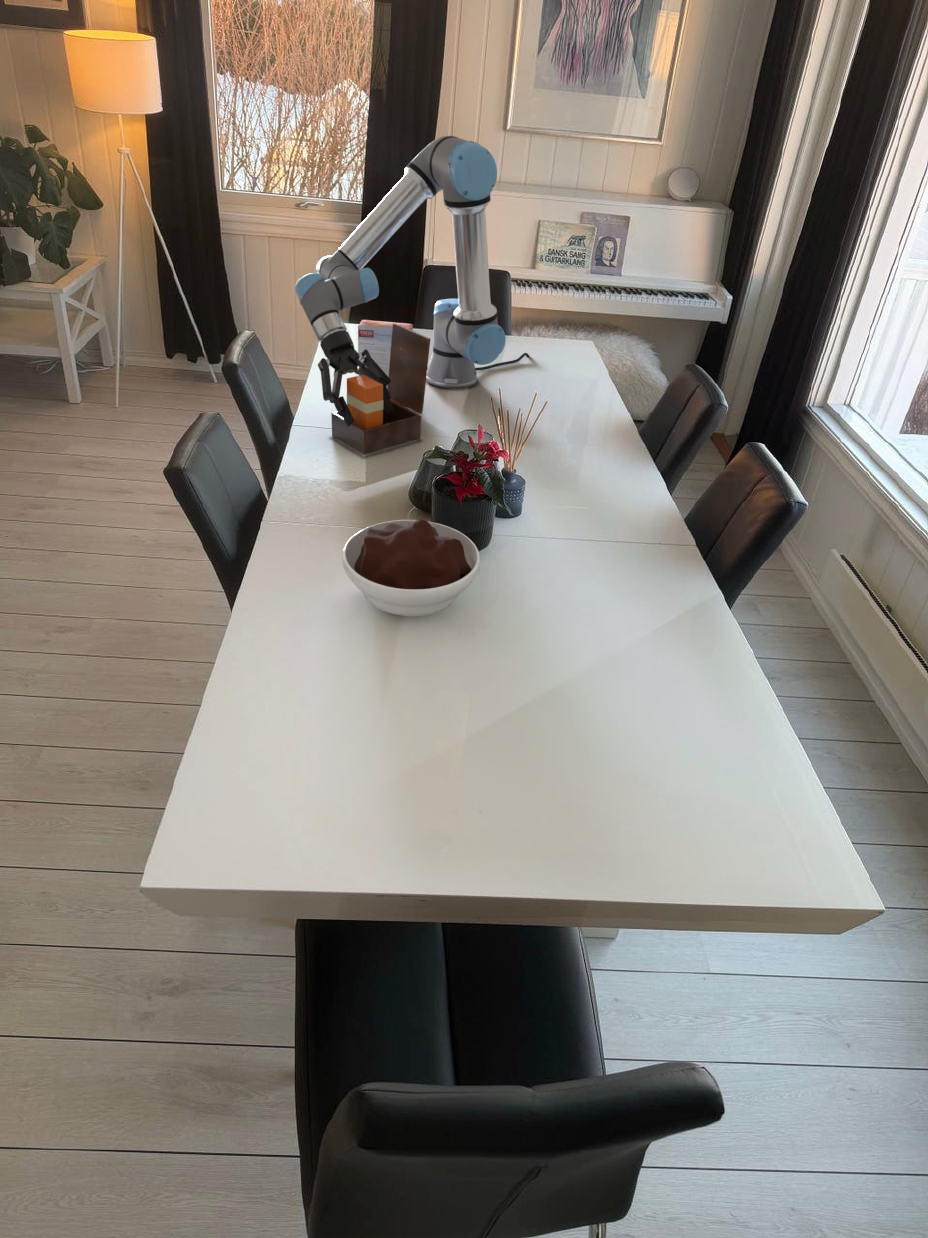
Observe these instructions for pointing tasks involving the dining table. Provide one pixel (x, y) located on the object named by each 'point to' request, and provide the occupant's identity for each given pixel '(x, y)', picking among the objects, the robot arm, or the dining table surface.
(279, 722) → the dining table surface
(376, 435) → the storage box
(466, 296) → the robot arm
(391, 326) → the cracker box
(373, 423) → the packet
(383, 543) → the bowl of chocolate pudding
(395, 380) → the lid
